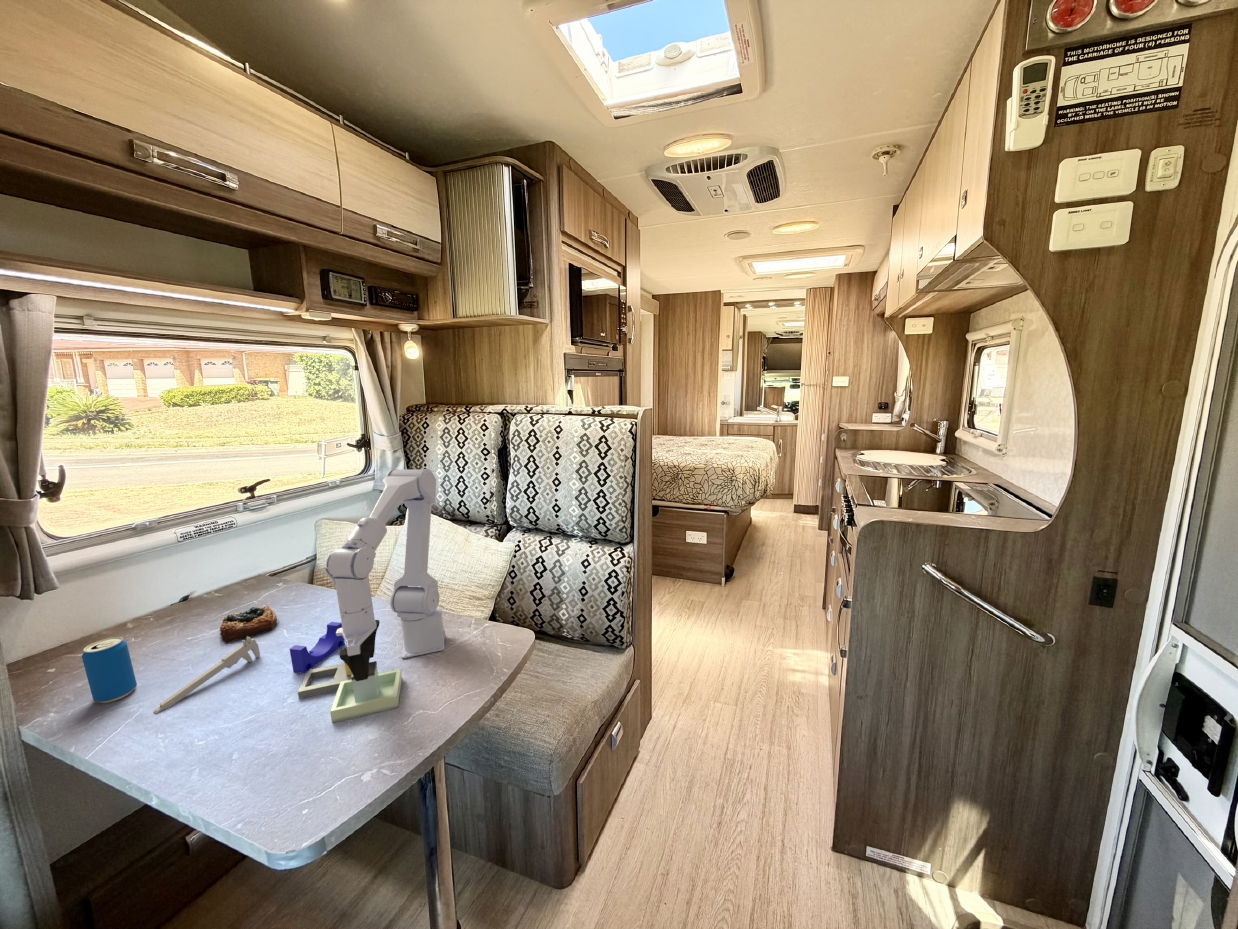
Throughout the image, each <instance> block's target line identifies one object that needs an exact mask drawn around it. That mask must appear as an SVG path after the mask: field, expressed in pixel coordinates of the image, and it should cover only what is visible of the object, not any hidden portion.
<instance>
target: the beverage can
mask: <svg viewBox="0 0 1238 929" xmlns="http://www.w3.org/2000/svg"><path fill="white" fill-rule="evenodd" d="M81 659H82V662H83V663H82V664H83V667H84V670H85V674H86V678H87V682H88V685H89V689H90V693H91V697H92V700H93V702H95V703H101V704H109V703H112V702H115V701H118V700H121V699H123V698H125V697H127V696H129V695H130V694H131V693H133V690H135V688H137V686H138V683H137V680H136V674H135V671H134V667H133V663H132V658H131V655H130V650H129V646H128V643H127V641H125V640H124V638H123V637H121V636H113V637H107V638H105V639H104V638H103V639H101V640H97V641H95V642H92V643H90V644H88V645H87V646H86V647H84V648H83V653H82V654H81Z"/></svg>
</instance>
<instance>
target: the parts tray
mask: <svg viewBox="0 0 1238 929" xmlns="http://www.w3.org/2000/svg"><path fill="white" fill-rule="evenodd" d="M378 678H379V685H380V693H379V698H376V699H372V700H368V701H363V702H359V703H355V697H354V691H353V684H352V679H351V680H347V681H342V682H340V685H339V688H338V690H336V693H335V697H334V700H333V703H332V706H331V709H330V710H329V711H330V713H329V714H330V717H331V718H330V719H331V723H332V724H334V723H337V722H341V721H346V720H350V719H354V718H359V717H363V716H367V715H372V714H376V713H381V712H384V711H388V710H389V711H390V710H392V709H393V710H394V709H398V708H399V704H400V696H401V690H402V689H401V688H402V682H403V675H402V669H401V668H399V669H395V670H390V671H385V672H380V673H378Z"/></svg>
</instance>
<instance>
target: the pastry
mask: <svg viewBox="0 0 1238 929" xmlns="http://www.w3.org/2000/svg"><path fill="white" fill-rule="evenodd" d="M277 617H278V616H277V614H276V613H275V612H274V610H272V608H270V606H269V605H268V606H267V605H266V606H264V605H263V606H260V607H255V606H251V607H250V608H249V609H248V610H245V611H241V612H233V613H230V614H228V615H227V616H225V617H224V618H223V619H222V623H221V625H220V627H219V635H220V637H221V638H222V639H223V641H224V642H225V643H230V642H235V641H239V640H244V639H246V638H247V637H250V638H251V637H254V636H255V637H256V636H257V635H259V634H260V635H261V634H264V633H266V632H269V631H272V630H273V629H274V628H275V626H276V624H277V621H278V618H277Z"/></svg>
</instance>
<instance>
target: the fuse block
mask: <svg viewBox="0 0 1238 929" xmlns="http://www.w3.org/2000/svg"><path fill="white" fill-rule="evenodd" d="M333 675H334V677H333V679H332V680H331V681H327V682H323V683H318V684H312V685H310V684H311V682H312V681H313V680H314V679H318V678H323V677H329V676H333ZM351 676H352V672H351V670H350V668H349V667H348V665H347V664H346V663H345V662H344V661H343V662H341V663H338V664H332V665H328V666H321V667H318V668H312V669H310V670H308V671H307V672H306V673H305V676H304V678H303V681H302V682H301V684H300V686H299V688H298V691H297V695H298V699H303V698H308V697H312V696H317V695H321V694H327V693H331V692H337V691H338V688H339V685H340V682H342V681H347V680H351Z"/></svg>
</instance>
